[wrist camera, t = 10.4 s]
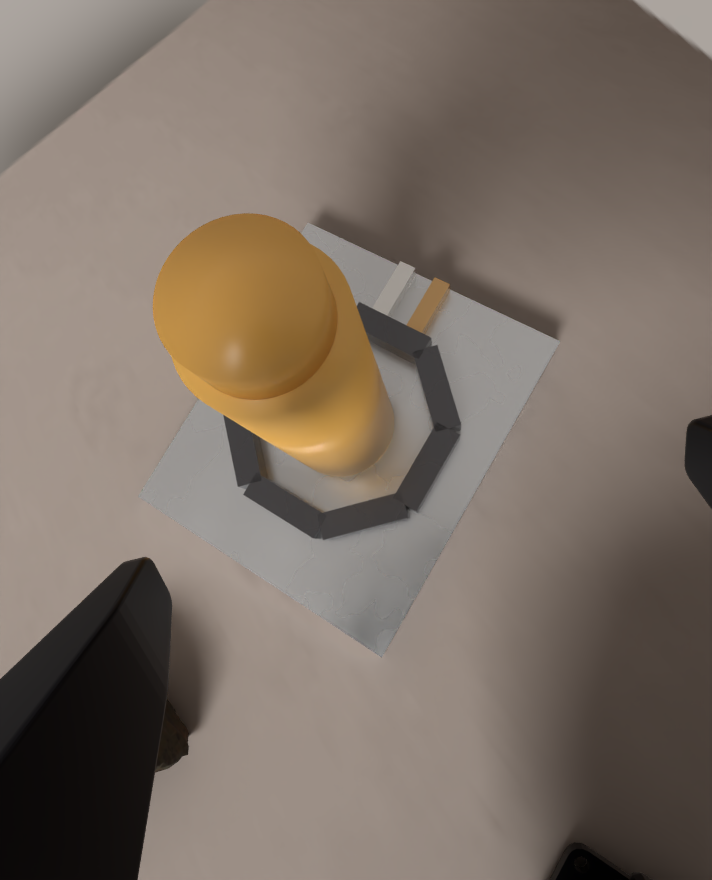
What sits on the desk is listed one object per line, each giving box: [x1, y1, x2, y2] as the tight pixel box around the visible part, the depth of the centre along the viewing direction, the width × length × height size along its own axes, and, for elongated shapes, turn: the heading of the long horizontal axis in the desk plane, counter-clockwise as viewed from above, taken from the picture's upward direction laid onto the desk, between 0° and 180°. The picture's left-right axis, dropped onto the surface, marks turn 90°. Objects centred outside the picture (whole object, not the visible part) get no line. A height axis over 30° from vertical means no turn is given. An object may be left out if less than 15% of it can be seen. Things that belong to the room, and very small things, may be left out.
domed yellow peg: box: [153, 214, 394, 477], centre depth 17 cm, size 4×4×12 cm
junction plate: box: [138, 223, 560, 657], centre depth 23 cm, size 14×12×2 cm
